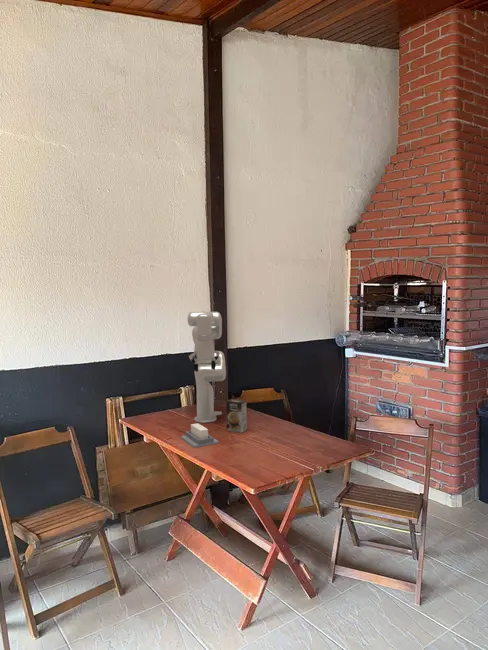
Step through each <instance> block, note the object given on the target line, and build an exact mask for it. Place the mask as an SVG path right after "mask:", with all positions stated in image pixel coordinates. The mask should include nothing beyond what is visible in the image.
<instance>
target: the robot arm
mask: <svg viewBox="0 0 488 650" xmlns="http://www.w3.org/2000/svg"><path fill="white" fill-rule="evenodd" d="M187 325H189V327H193V328H192V332H191V334H192V341H193V344H194V348H193V352H192V353H190V355H188V358H189V360H190V362H191V363H192V364H193V370H194V377H195V386H196V416H195V417H194V419H193V420H194V422H197V423H201V424H202V423H203V424H204V423H205V424H206V423H213V422H216V421H217V418H218V417H217V416H222V415H223V414H222V413H223V412H222V411H218V410H216V411H215V410H214V409H215V407H214V403H215V402H214V400H215V398H214V397H215V396H214V388H213V386H212V385H211V382H223V381H224V380H225V379H226V378H227V377H226V376H227V369H226V358H225V354H224V352H223V351H220V350H215V345H214V341H213V340H219V339H220V338H221V337H222V334H223V333H222V332H223V330H222V329H223V328H222V327H223V318H222V315H221V313H220V312H218V311H193V312H192V311H191V312H189V313H188V314H187Z"/></svg>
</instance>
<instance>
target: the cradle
mask: <svg viewBox="0 0 488 650" xmlns="http://www.w3.org/2000/svg"><path fill="white" fill-rule="evenodd" d="M180 439H182V440H183V441H184V442H185V443H187V444H189V445H190V446H191V447H193V448H195V449H196V448H201V447H207V446H211V445H216V444H219V443H220V441H219V440H218V439H216V438H214V437H213V436H211V435H210V434H208V438H206V439H201V440H200V439H198V438H197V437H195V436H194V435H192V434H191V430H190V431H189V430H188V431H185V435H181V436H180Z"/></svg>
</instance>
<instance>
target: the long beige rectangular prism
mask: <svg viewBox="0 0 488 650" xmlns="http://www.w3.org/2000/svg"><path fill="white" fill-rule="evenodd" d="M190 431H191V434H192V435H194V436H195V437H197V438H198V439H200V440H201V439H206V438H208V435H209V429H208V428H207V427H205V426H203V424H202V425H201V424H200V422H197V423H192V424H190Z"/></svg>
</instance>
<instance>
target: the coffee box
mask: <svg viewBox="0 0 488 650" xmlns="http://www.w3.org/2000/svg"><path fill="white" fill-rule="evenodd" d="M246 430H247V400H244V399H240V398H239V399H238V398H237V399H236V398H230V399H228V400H226V431H228V432H234V433H239V434H240V433H243V432H245V431H246Z"/></svg>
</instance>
